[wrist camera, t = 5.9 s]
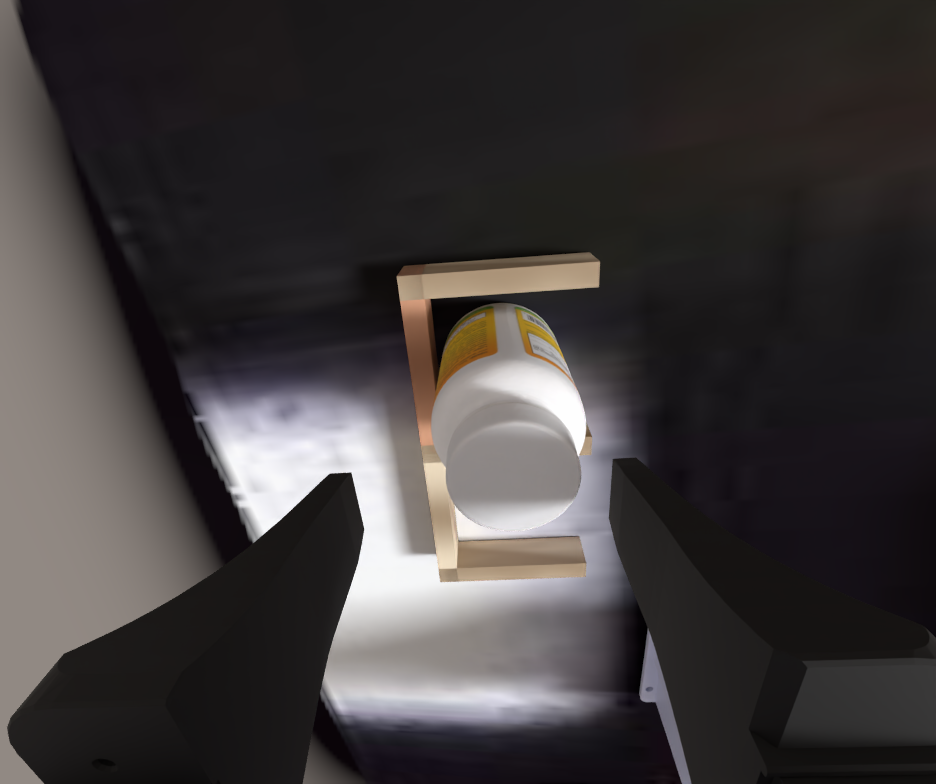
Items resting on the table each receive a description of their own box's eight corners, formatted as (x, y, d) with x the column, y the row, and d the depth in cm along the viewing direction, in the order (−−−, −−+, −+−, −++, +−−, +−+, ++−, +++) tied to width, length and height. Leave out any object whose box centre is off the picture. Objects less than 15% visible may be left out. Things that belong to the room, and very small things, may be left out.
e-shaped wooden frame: (578, 549, 28) (585, 576, 26) (442, 555, 28) (440, 582, 26) (589, 252, 20) (599, 261, 18) (403, 266, 21) (396, 276, 19)
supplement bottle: (442, 404, 24) (421, 547, 15) (443, 297, 21) (419, 395, 13) (550, 408, 24) (591, 554, 15) (564, 302, 21) (622, 403, 13)
